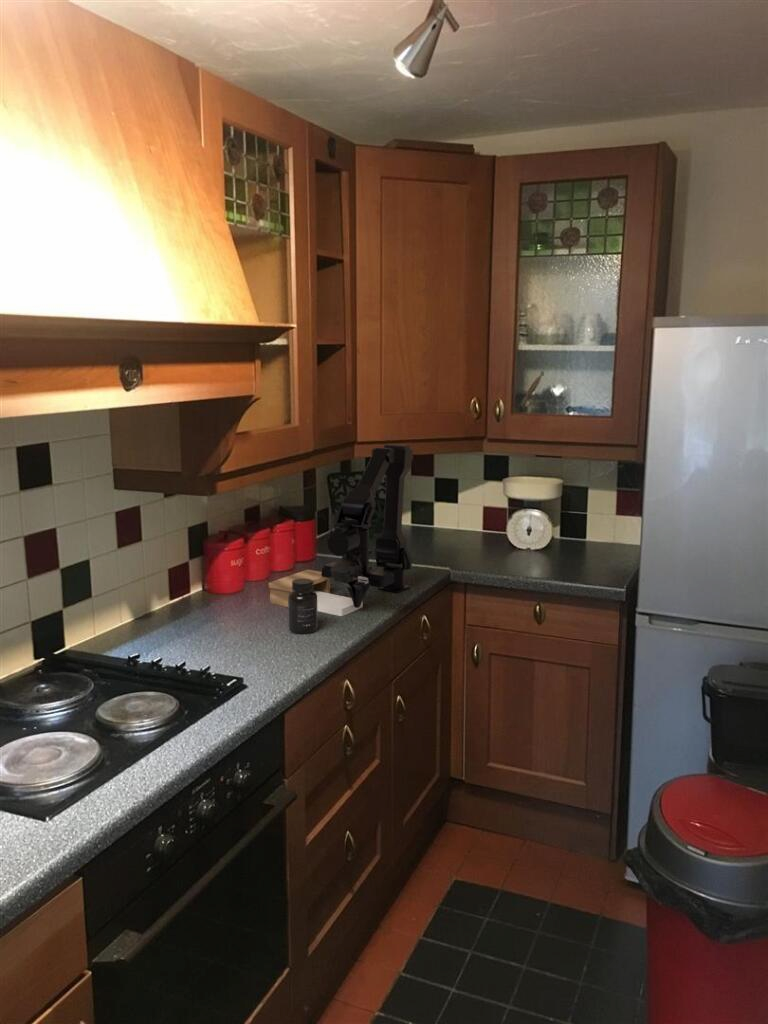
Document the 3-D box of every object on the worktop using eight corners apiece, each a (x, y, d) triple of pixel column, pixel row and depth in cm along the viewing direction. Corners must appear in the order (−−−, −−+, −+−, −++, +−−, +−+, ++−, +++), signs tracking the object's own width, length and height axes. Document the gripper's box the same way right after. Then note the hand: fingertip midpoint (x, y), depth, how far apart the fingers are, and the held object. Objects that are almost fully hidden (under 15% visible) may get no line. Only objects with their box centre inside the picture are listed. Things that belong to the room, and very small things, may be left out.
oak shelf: (307, 589, 236) (307, 569, 235) (331, 594, 232) (331, 574, 230) (269, 603, 223) (268, 582, 222) (293, 609, 218) (292, 587, 217)
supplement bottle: (285, 627, 205) (284, 578, 203) (313, 624, 207) (312, 575, 205) (292, 636, 199) (292, 586, 196) (321, 633, 201) (320, 583, 199)
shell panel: (313, 598, 229) (313, 590, 229) (362, 609, 221) (362, 600, 220) (291, 607, 222) (291, 598, 222) (341, 618, 213) (341, 609, 213)
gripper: (307, 548, 213) (308, 608, 216) (370, 558, 203) (369, 622, 206) (334, 539, 222) (334, 598, 225) (395, 549, 212) (395, 610, 215)
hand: (357, 607), depth 217 cm, fingers closed
